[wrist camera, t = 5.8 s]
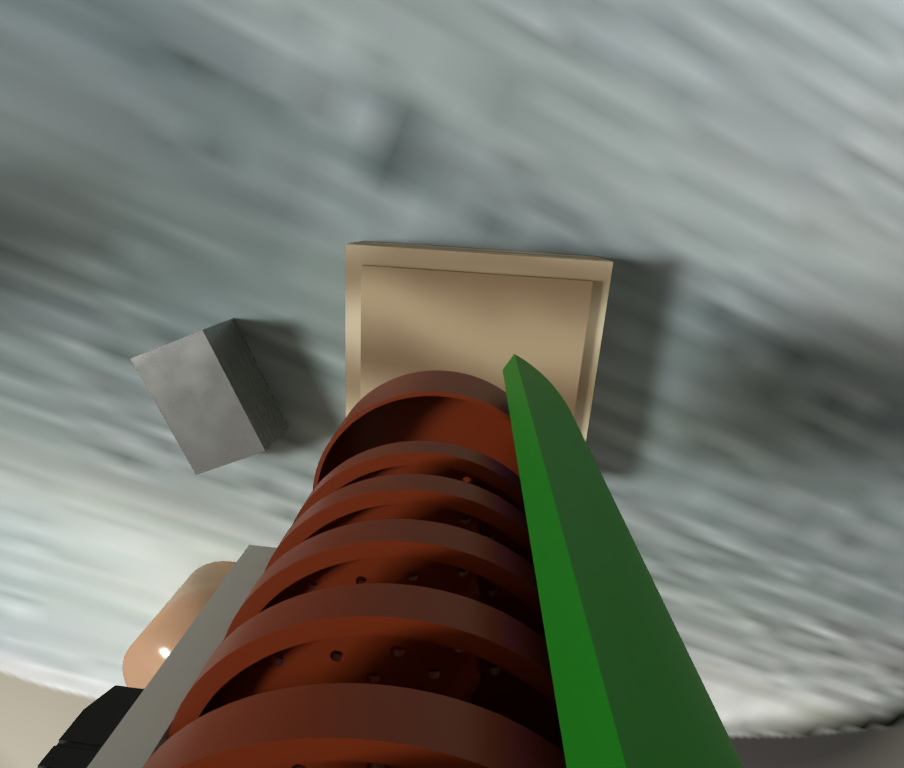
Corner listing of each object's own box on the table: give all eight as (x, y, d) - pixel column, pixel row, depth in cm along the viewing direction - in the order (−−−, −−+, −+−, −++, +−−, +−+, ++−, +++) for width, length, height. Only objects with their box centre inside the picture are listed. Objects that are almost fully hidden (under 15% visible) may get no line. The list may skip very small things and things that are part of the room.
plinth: (363, 241, 31) (342, 244, 27) (598, 256, 30) (616, 262, 26) (361, 452, 35) (343, 485, 31) (567, 470, 35) (578, 506, 30)
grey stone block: (170, 343, 34) (130, 358, 30) (235, 317, 33) (202, 330, 30) (226, 448, 36) (196, 474, 33) (289, 426, 36) (265, 450, 32)
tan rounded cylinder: (178, 556, 39) (114, 625, 33) (281, 566, 39) (238, 638, 32) (188, 640, 42) (131, 720, 35) (285, 650, 41) (246, 733, 35)
